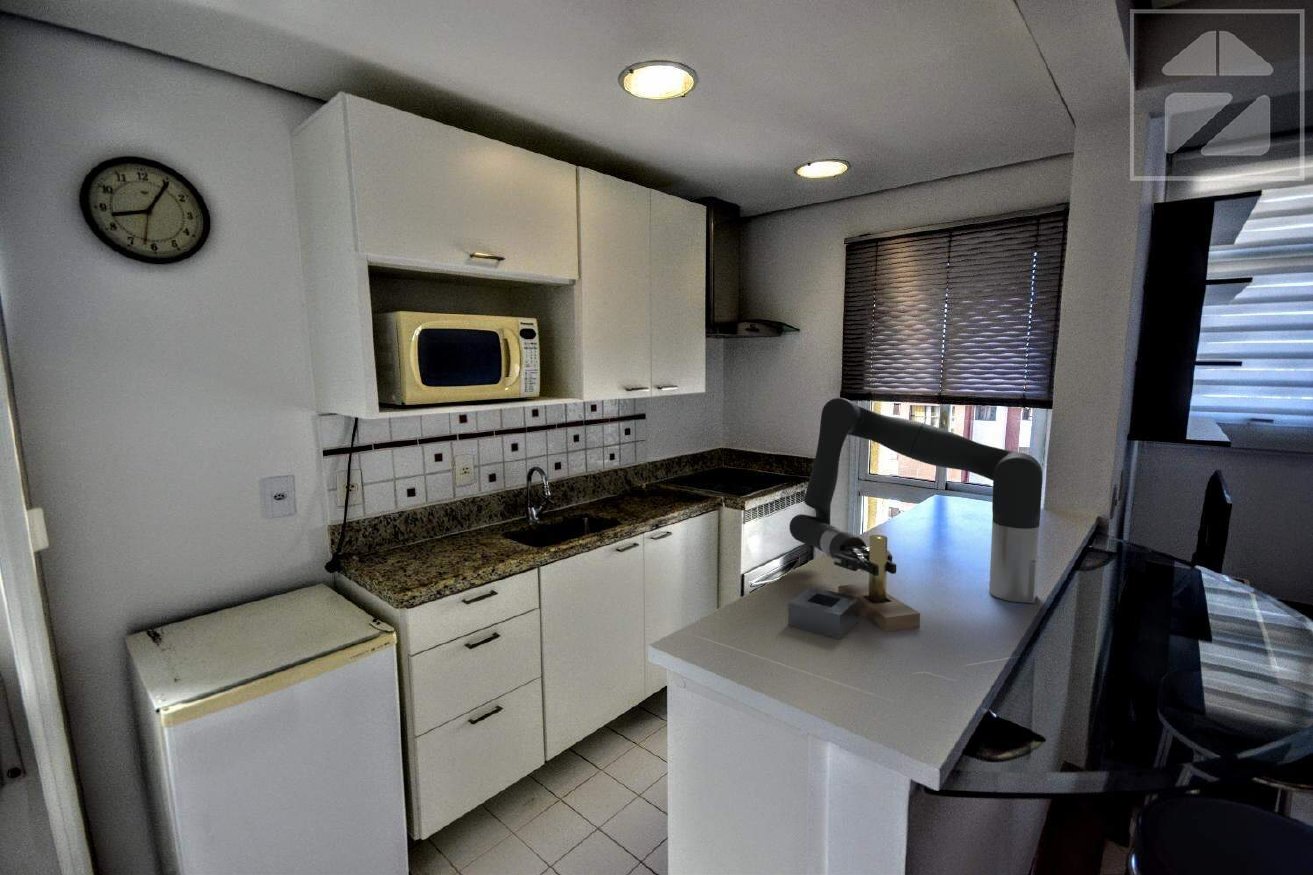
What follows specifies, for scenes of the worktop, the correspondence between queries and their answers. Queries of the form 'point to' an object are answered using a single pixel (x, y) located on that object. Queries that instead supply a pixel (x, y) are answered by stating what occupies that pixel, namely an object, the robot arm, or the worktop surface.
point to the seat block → (823, 612)
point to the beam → (883, 609)
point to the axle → (880, 559)
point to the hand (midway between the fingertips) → (885, 570)
